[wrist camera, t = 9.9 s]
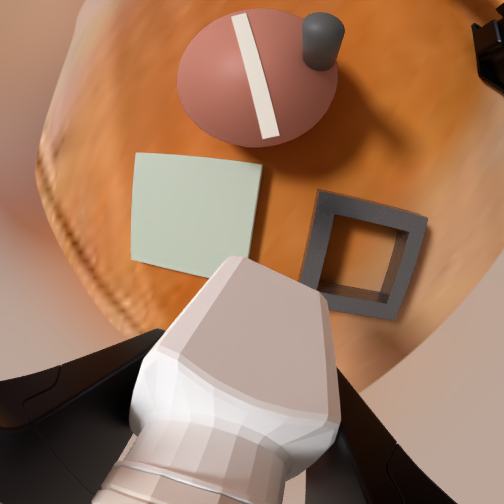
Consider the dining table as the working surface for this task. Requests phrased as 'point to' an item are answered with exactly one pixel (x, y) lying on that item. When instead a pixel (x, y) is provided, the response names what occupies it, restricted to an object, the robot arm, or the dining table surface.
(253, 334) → the pepper shaker
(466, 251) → the dining table surface
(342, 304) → the dark grey square frame
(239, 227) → the board
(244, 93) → the handwheel
